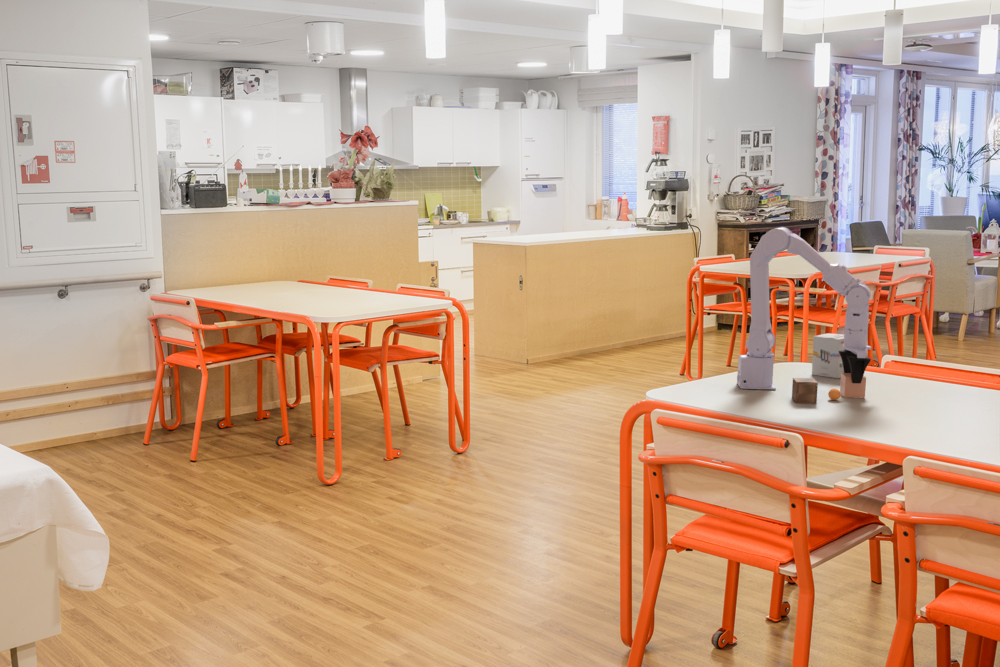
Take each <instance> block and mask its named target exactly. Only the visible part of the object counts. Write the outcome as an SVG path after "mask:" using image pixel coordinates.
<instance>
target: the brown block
mask: <svg viewBox="0 0 1000 667" xmlns="http://www.w3.org/2000/svg"><path fill="white" fill-rule="evenodd" d="M818 384H819V382H818V381H817V380H816V379H815V378H813V377H811V378H810V377H809V378H808V377H792V388H791V390H792V391H791V399H792V401H793V402H794V403H795V404H817V402H818Z"/></svg>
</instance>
